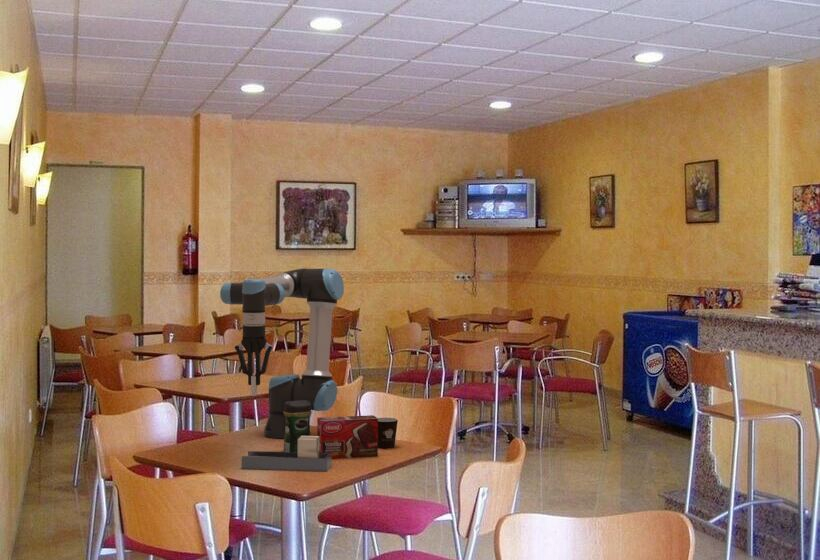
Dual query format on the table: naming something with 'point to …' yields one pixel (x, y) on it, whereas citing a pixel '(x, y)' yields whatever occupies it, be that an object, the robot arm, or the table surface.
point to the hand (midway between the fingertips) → (254, 394)
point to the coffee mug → (387, 432)
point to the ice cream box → (348, 436)
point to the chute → (285, 461)
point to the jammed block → (308, 447)
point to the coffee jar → (296, 423)
